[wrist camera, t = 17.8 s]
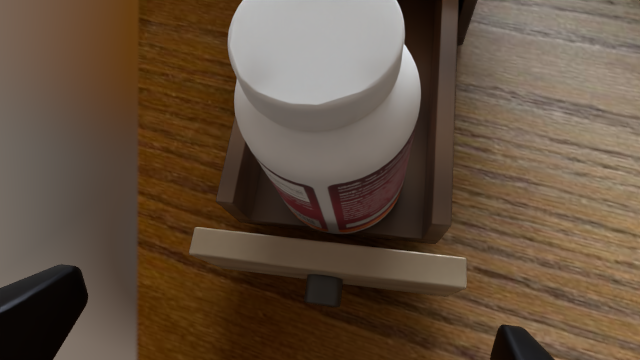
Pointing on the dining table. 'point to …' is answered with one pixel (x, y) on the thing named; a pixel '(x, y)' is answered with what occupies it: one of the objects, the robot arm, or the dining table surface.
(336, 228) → the pill bottle
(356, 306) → the dining table surface
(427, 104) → the drawer
